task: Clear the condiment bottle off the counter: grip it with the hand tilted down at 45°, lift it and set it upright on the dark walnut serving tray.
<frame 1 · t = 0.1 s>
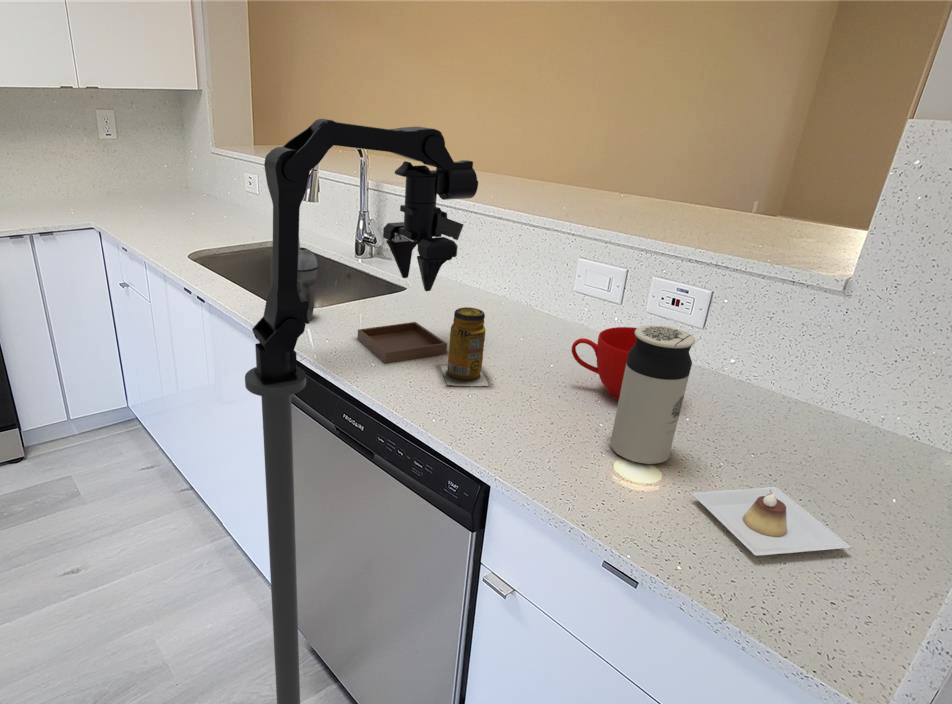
hand: (416, 284, 123), 13 cm above the worktop, tool pointing down, fingers open, 9 cm apart
tray: (401, 346, 128), on the worktop
ceramic cup: (616, 394, 111), on the worktop
dessert: (763, 527, 78), on the worktop
beverage cup: (302, 319, 142), on the worktop
travel mug: (638, 452, 93), on the worktop
condiment: (463, 377, 116), on the worktop
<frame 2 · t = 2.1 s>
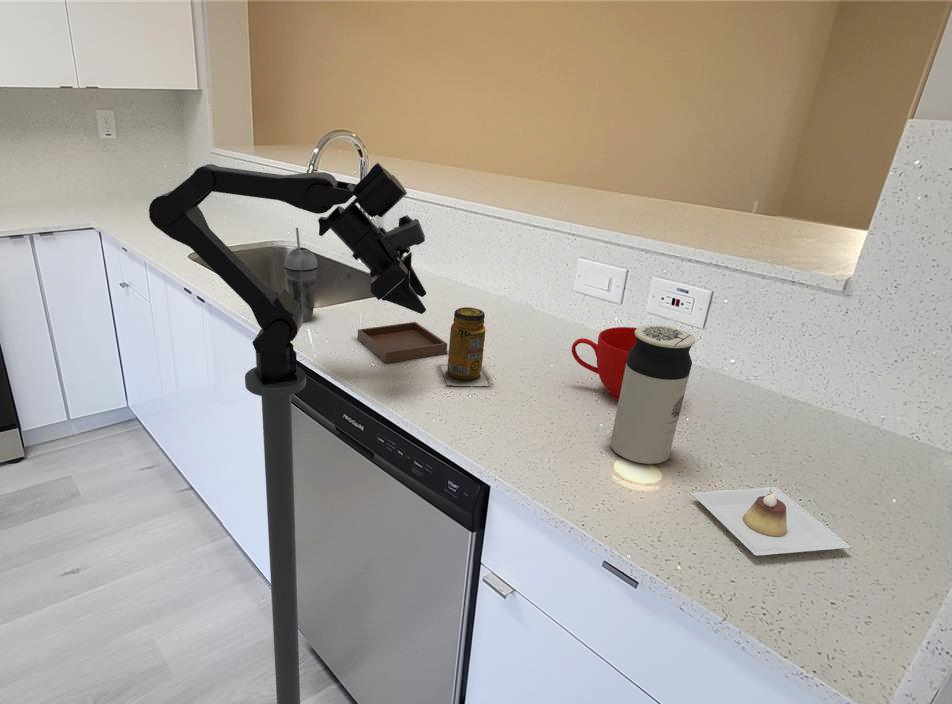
hand: (424, 303, 111), 13 cm above the worktop, tool tilted 45°, fingers open, 9 cm apart
nothing on the worktop moved.
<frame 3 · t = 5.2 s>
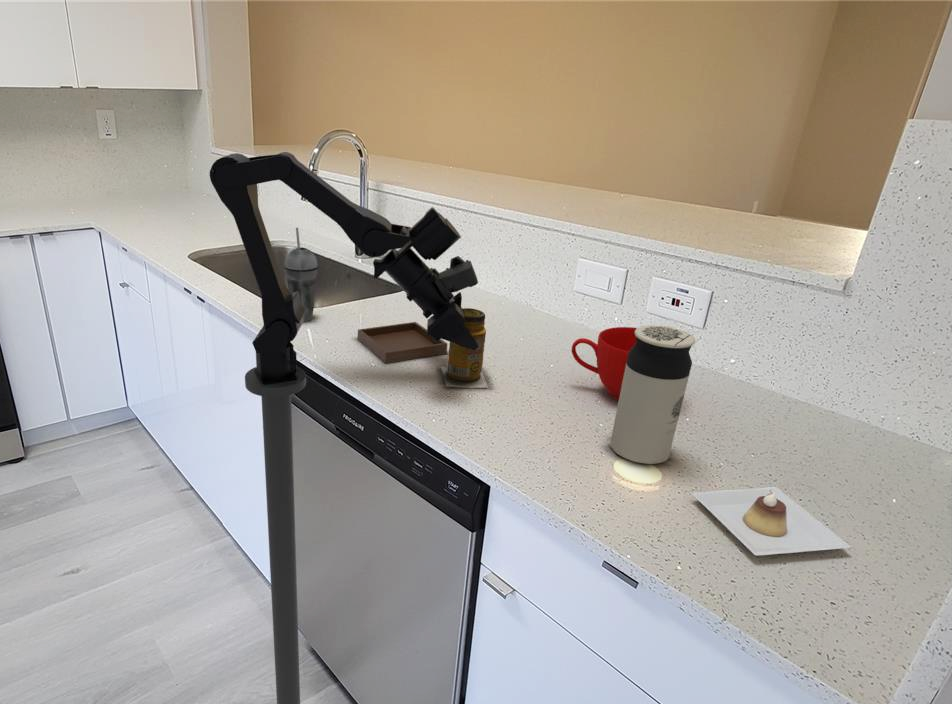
hand: (475, 341, 113), 7 cm above the worktop, tool tilted 45°, fingers closed on condiment, 6 cm apart
condiment: (463, 378, 115), on the worktop, touching gripper
everything else where it was.
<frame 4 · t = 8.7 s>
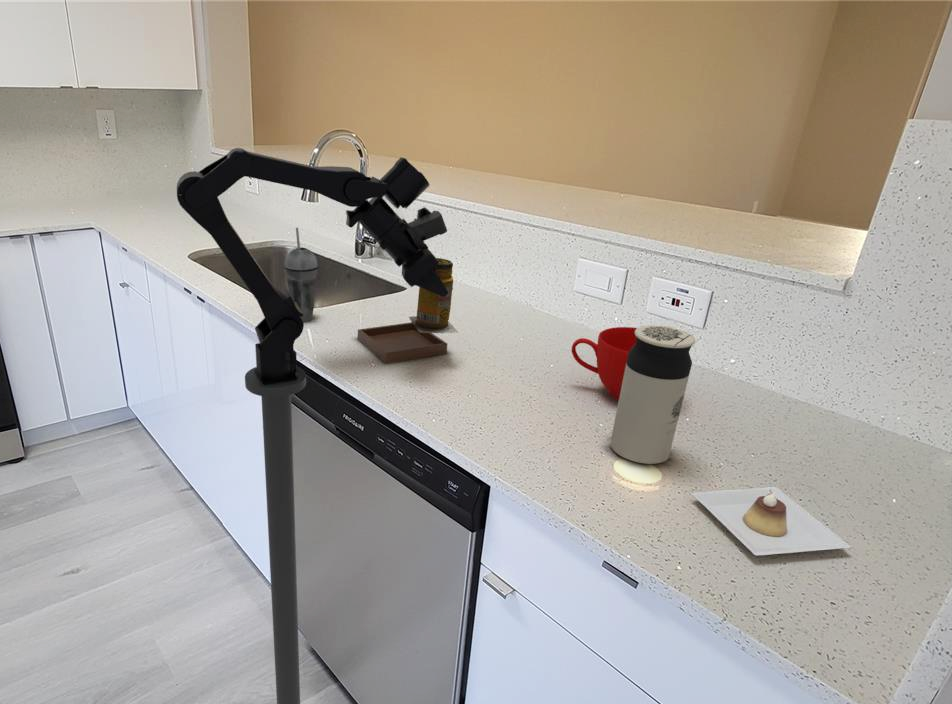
hand: (443, 289, 118), 13 cm above the worktop, tool tilted 45°, fingers closed on condiment, 6 cm apart
condiment: (432, 326, 120), point 7 cm above the worktop, touching gripper
everything else where it was.
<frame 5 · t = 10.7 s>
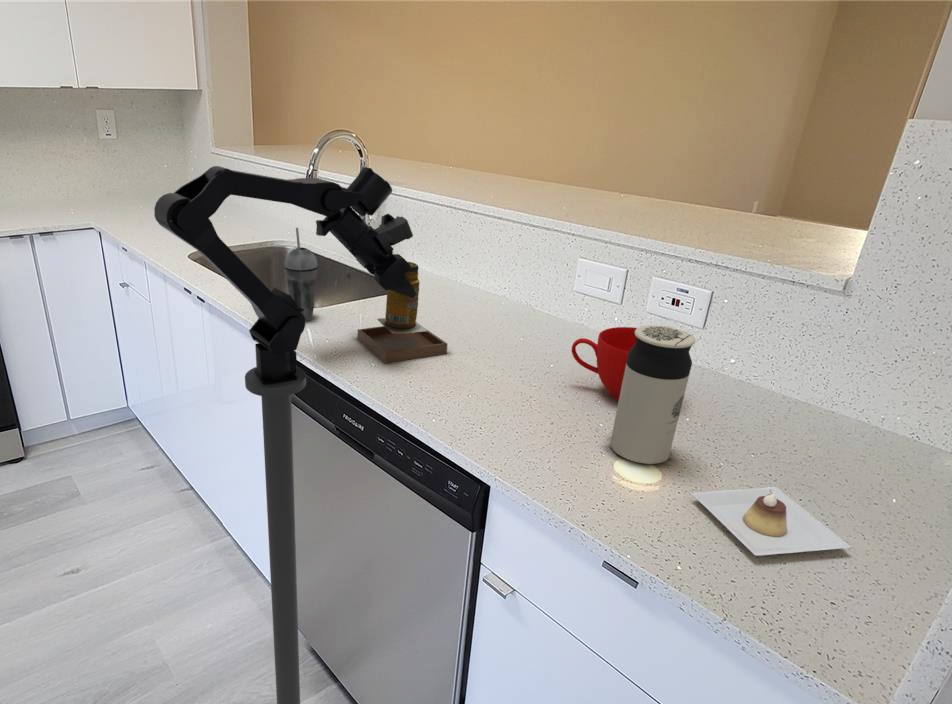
hand: (409, 291, 124), 11 cm above the worktop, tool tilted 45°, fingers closed on condiment, 6 cm apart
condiment: (401, 326, 125), point 4 cm above the worktop, touching gripper
everything else where it was.
when the fingers open (7 cm above the worktop, at t = 12.3 s): condiment stays where it is, resting on tray.
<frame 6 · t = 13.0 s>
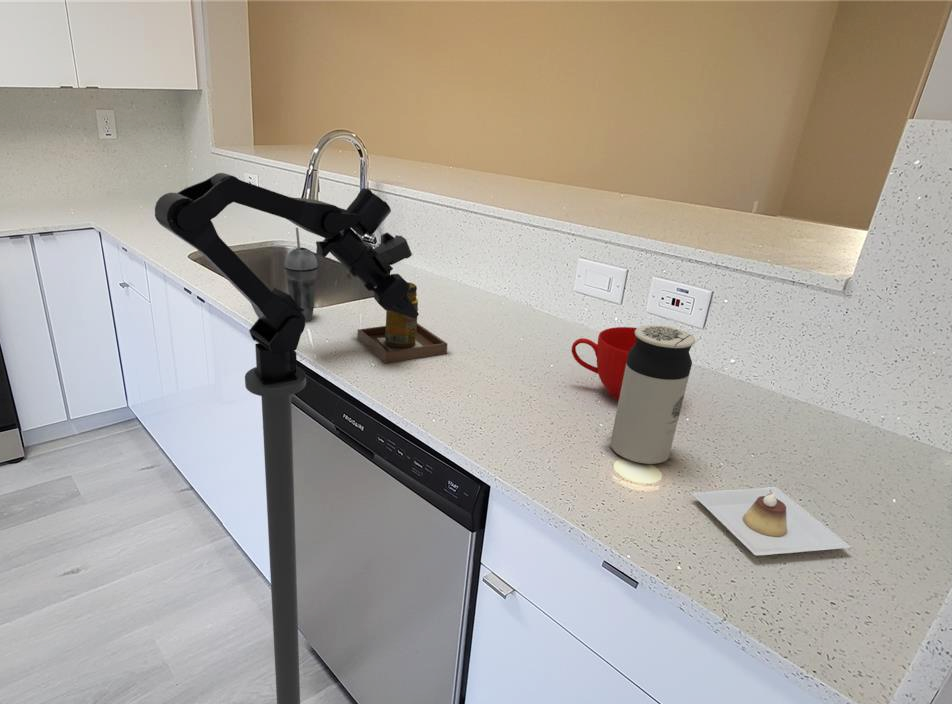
hand: (409, 308, 125), 8 cm above the worktop, tool tilted 45°, fingers open, 9 cm apart
condiment: (401, 346, 127), resting on tray
everything else where it was.
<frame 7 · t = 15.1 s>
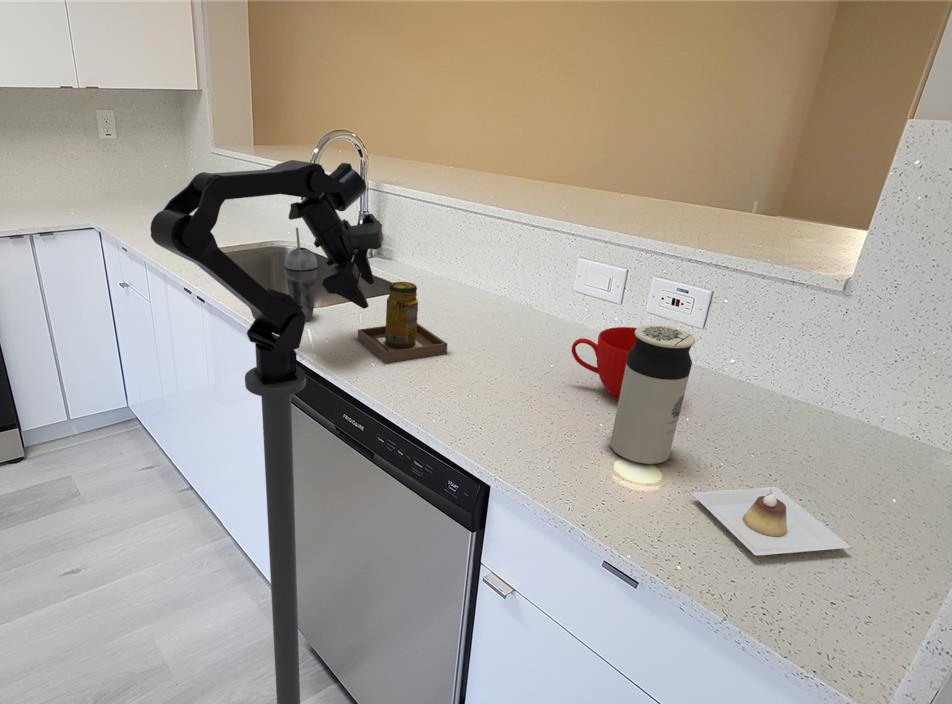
hand: (369, 295, 123), 11 cm above the worktop, tool tilted 30°, fingers open, 9 cm apart
nothing on the worktop moved.
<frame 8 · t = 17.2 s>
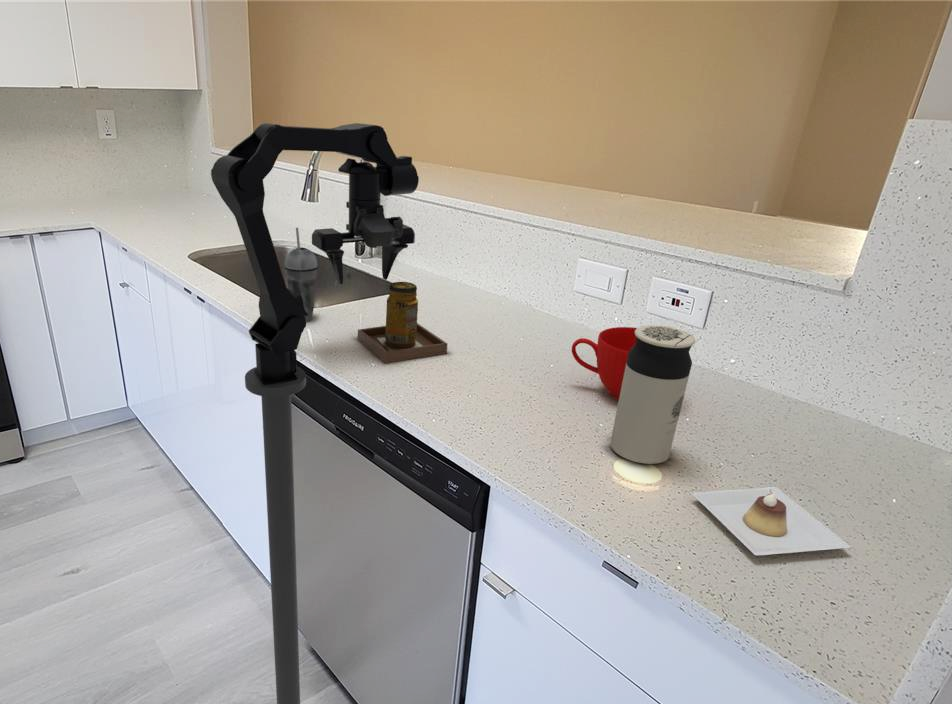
hand: (363, 281, 123), 13 cm above the worktop, tool pointing down, fingers open, 9 cm apart
nothing on the worktop moved.
at the end: condiment inside the target area in the tray (0.9 cm from its centre), point 0.4 cm above the tray's base; condiment tilted 0°; the gripper is holding nothing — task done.
